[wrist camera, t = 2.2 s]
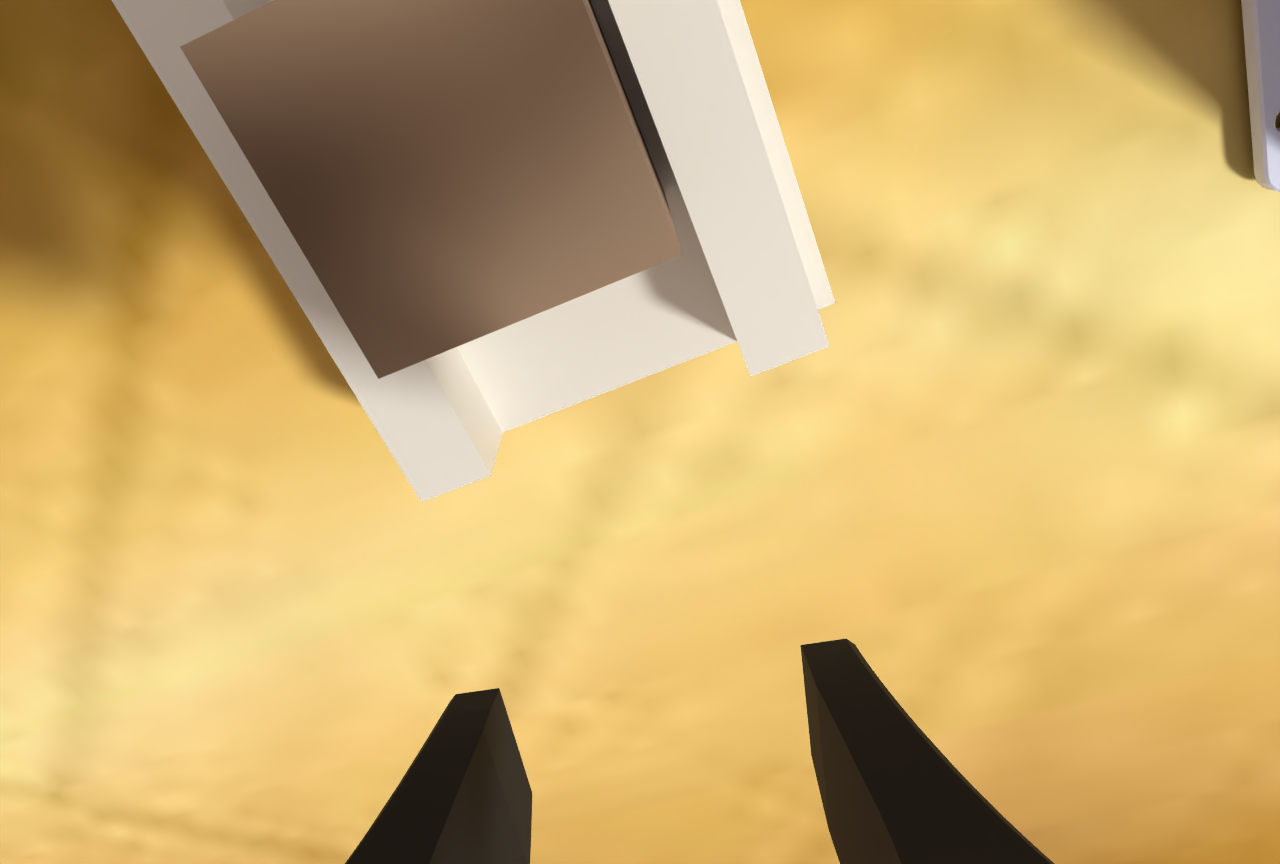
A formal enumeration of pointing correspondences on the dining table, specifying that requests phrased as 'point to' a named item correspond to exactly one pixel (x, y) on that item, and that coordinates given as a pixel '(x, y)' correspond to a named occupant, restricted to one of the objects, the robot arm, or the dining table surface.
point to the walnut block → (441, 159)
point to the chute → (605, 318)
